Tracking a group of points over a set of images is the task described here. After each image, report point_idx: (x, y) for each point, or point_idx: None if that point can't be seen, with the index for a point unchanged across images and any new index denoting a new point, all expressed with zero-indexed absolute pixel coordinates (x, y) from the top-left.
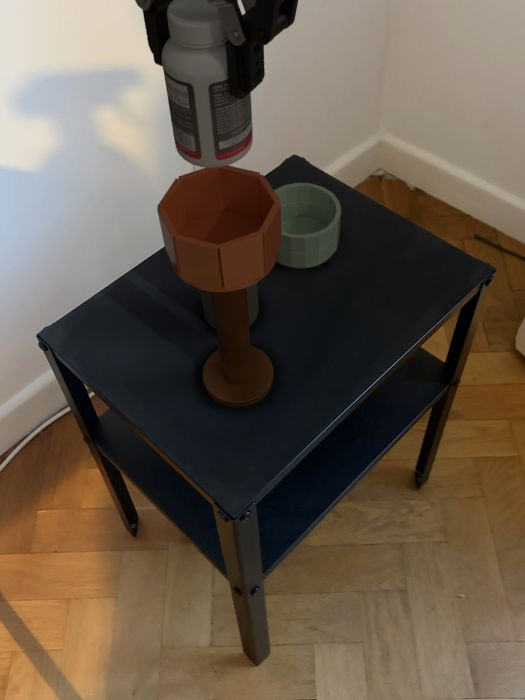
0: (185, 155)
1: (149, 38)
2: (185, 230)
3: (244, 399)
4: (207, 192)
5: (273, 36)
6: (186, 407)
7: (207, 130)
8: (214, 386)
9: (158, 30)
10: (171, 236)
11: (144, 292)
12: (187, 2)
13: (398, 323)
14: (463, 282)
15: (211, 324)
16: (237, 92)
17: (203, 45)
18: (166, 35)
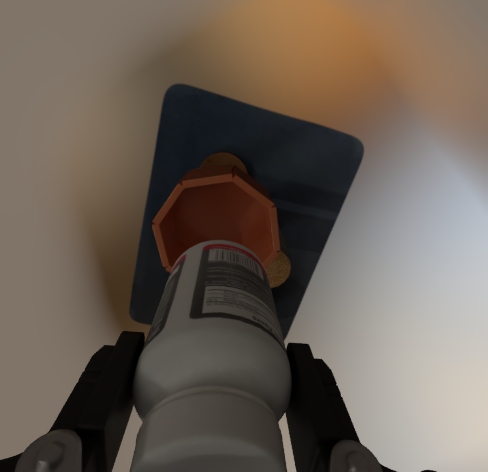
0: (229, 244)
1: (330, 382)
2: (262, 219)
3: (206, 160)
4: None
5: None
6: (242, 137)
7: (186, 273)
8: (231, 159)
9: (305, 403)
10: (236, 175)
11: (320, 209)
12: None
13: (153, 262)
14: (135, 307)
15: None
16: (120, 338)
17: (165, 402)
18: (296, 398)
